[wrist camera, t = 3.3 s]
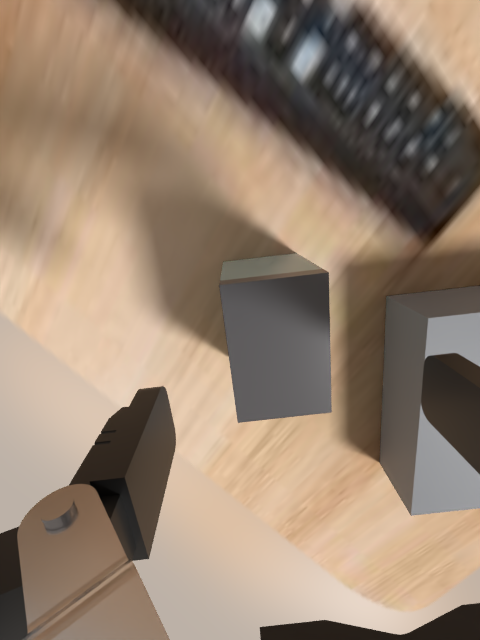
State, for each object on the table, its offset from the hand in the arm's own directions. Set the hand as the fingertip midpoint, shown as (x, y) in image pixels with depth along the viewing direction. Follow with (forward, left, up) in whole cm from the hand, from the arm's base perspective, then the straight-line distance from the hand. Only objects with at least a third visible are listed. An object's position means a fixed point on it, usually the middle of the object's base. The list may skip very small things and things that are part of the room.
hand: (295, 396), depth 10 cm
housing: (0, 0, -9) cm, 9 cm away
